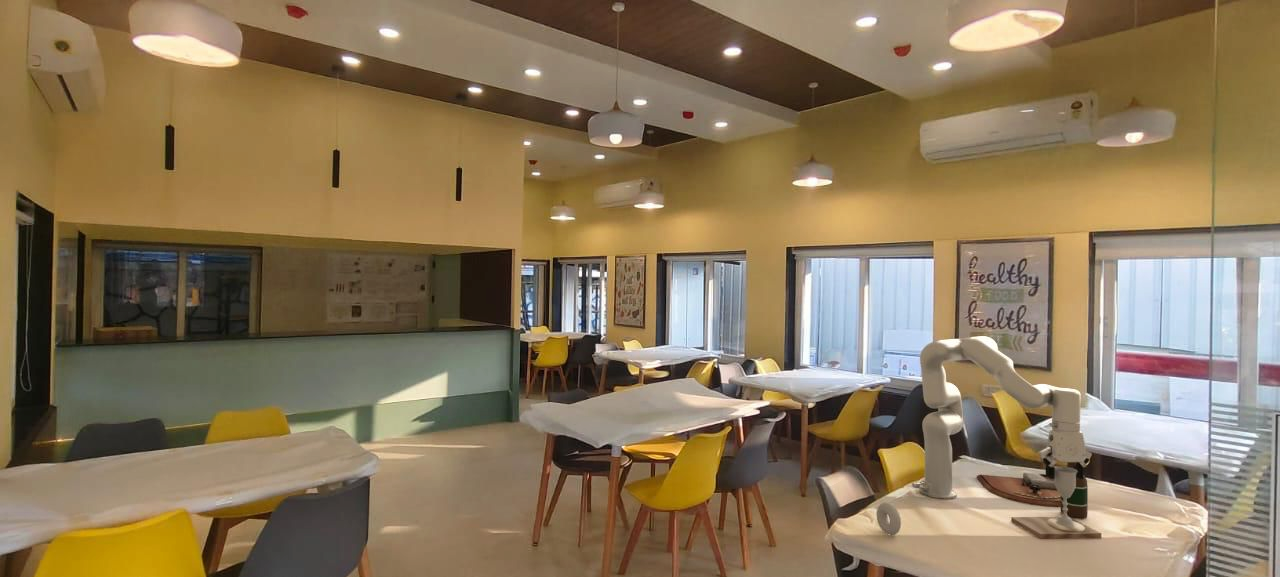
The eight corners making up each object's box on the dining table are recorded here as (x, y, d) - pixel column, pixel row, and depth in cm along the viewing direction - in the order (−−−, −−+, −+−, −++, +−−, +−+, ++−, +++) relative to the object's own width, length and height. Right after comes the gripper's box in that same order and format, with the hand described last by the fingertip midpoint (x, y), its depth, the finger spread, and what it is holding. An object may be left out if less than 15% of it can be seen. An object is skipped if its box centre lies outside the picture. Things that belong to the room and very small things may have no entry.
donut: (903, 539, 187) (903, 508, 187) (894, 541, 186) (894, 509, 186) (883, 527, 196) (883, 497, 196) (874, 528, 195) (874, 498, 195)
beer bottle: (1058, 515, 207) (1058, 447, 208) (1062, 509, 213) (1062, 443, 213) (1086, 521, 202) (1086, 451, 202) (1088, 515, 208) (1088, 447, 208)
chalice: (1055, 518, 199) (1054, 464, 199) (1079, 523, 195) (1079, 469, 195) (1050, 524, 194) (1050, 469, 194) (1075, 530, 189) (1075, 474, 190)
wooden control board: (1061, 473, 241) (1094, 498, 212) (1061, 486, 240) (1094, 512, 212) (976, 466, 250) (996, 489, 221) (976, 478, 250) (996, 503, 221)
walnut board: (1040, 538, 188) (1040, 532, 188) (1011, 521, 202) (1011, 515, 202) (1101, 538, 188) (1101, 531, 188) (1068, 520, 202) (1068, 514, 202)
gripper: (1048, 429, 190) (1047, 481, 191) (1100, 429, 191) (1098, 481, 191) (1032, 423, 198) (1030, 474, 198) (1082, 423, 198) (1080, 474, 199)
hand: (1064, 477), depth 195 cm, fingers open, 9 cm apart
